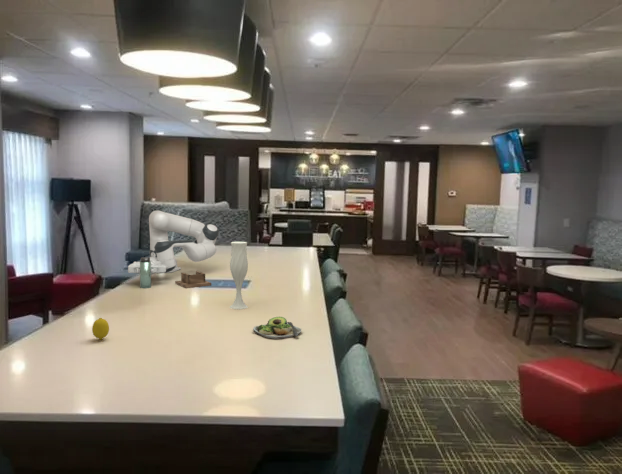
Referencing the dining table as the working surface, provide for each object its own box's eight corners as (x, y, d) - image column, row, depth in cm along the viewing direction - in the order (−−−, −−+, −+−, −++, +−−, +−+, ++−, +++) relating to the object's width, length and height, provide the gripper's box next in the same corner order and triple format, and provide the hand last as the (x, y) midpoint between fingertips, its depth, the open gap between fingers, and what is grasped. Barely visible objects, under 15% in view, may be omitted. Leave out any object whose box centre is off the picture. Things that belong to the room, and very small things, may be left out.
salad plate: (314, 336, 191) (314, 324, 191) (274, 344, 181) (274, 331, 180) (285, 324, 207) (285, 313, 206) (247, 331, 196) (247, 319, 195)
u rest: (175, 283, 286) (175, 272, 285) (199, 281, 295) (199, 270, 294) (186, 288, 274) (185, 276, 273) (211, 285, 283) (211, 273, 282)
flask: (145, 285, 278) (144, 257, 277) (153, 286, 276) (152, 257, 274) (138, 287, 273) (137, 258, 272) (146, 288, 271) (145, 259, 269)
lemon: (111, 340, 181) (111, 318, 180) (96, 343, 177) (95, 320, 176) (105, 336, 185) (105, 315, 184) (90, 339, 181) (89, 317, 180)
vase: (250, 305, 237) (250, 241, 234) (246, 309, 229) (246, 243, 226) (231, 304, 238) (231, 241, 235) (227, 308, 230) (227, 243, 227)
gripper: (168, 272, 288) (165, 276, 275) (131, 272, 285) (125, 277, 272) (168, 261, 288) (165, 265, 274) (130, 261, 285) (125, 265, 271)
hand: (145, 271), depth 273 cm, fingers closed on flask, 6 cm apart
